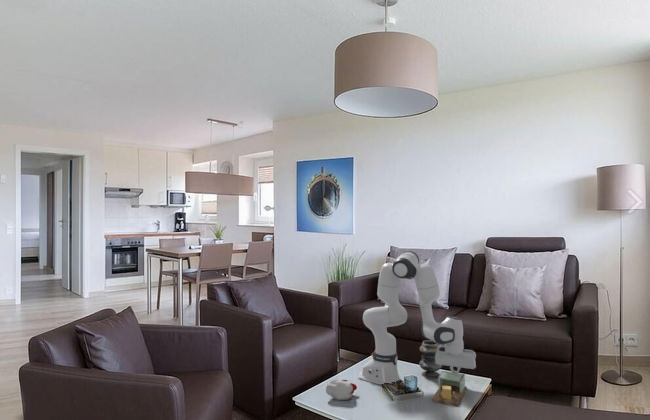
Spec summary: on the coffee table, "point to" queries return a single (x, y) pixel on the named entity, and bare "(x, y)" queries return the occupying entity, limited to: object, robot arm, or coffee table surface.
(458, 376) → the housing cover
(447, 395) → the yellow cube
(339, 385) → the white red lumpy figurine
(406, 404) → the coffee table surface
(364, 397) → the coffee table surface
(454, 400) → the housing base
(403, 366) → the coffee table surface
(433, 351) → the apothecary jar
